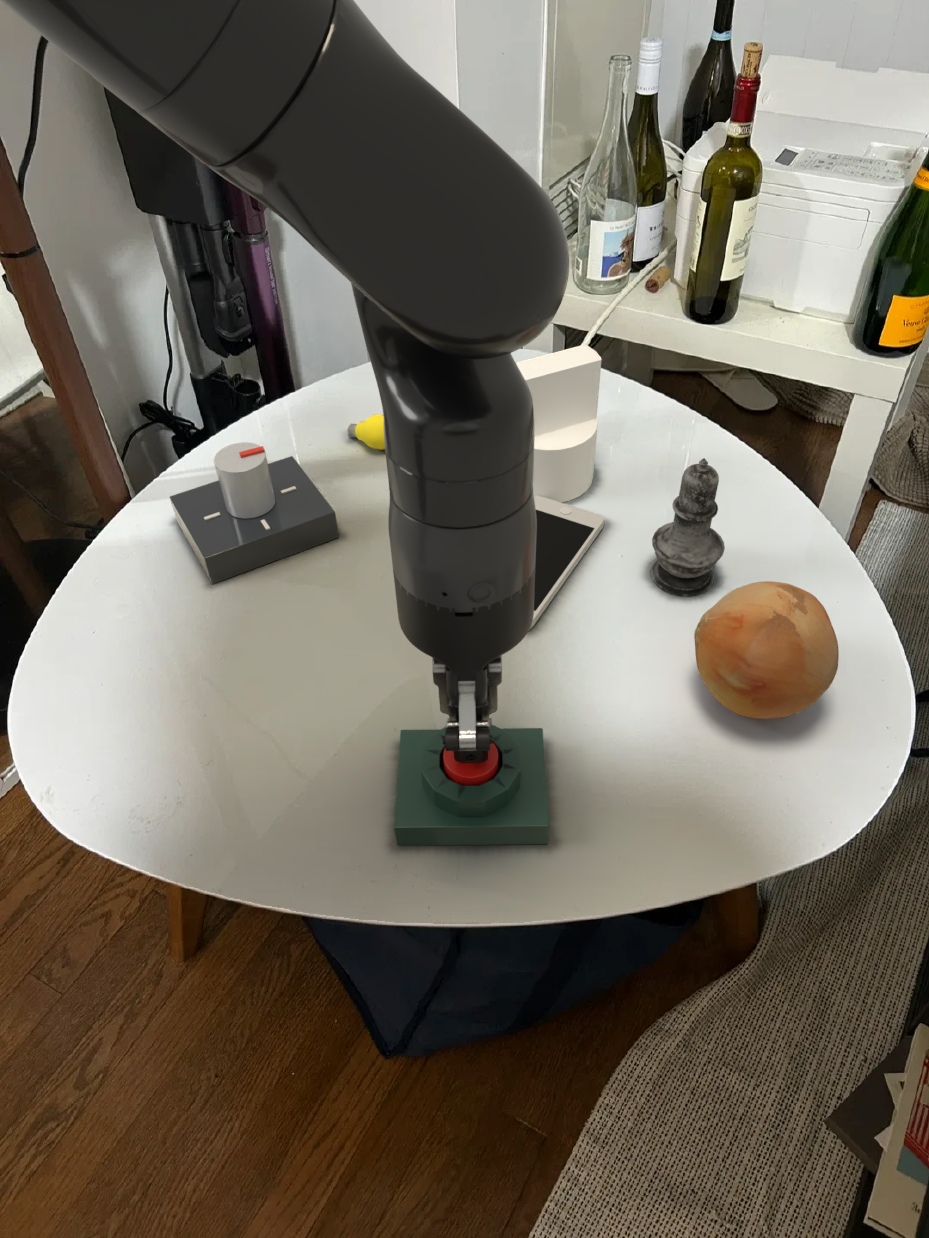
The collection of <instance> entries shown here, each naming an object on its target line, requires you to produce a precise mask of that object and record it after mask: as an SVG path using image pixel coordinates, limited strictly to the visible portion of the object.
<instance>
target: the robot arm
mask: <svg viewBox="0 0 929 1238" xmlns="http://www.w3.org/2000/svg"><path fill="white" fill-rule="evenodd" d="M0 1H1V2H2V3H3V4H4V5H6V7H8V8H9V9H10V10H11V11H12V12H13V13H15V14H16V15H18V17H19V18H20V19H22V20H23V21H24V22H25V23H26V24H27V25H28V26H30V27H31V28H32V29H34V31H36V32H37V33H38V34H39V35H40V36H42V37H43V38H44V39H45V40H47V41H48V42H49V43H50V44H51V45H52V46H54V47H55V48H56V49H57V50H58V51H60V52H61V53H62V54H63V55H65V56H66V57H67V58H68V59H69V60H70V61H72V62H73V63H74V64H76V65H77V66H78V67H79V68H80V69H82V70H83V71H84V72H85V73H87V74H88V75H89V76H90V77H92V78H93V79H94V80H95V81H97V82H98V83H99V84H100V85H102V87H104V88H105V89H107V90H108V91H109V92H110V93H112V94H113V95H114V96H115V97H117V98H118V99H119V100H120V101H122V102H123V103H124V104H126V105H127V106H128V107H130V108H131V109H132V110H134V111H135V112H136V113H137V114H139V115H140V116H141V117H143V118H144V119H145V120H147V121H148V122H149V123H150V124H152V125H153V126H154V127H156V129H158V130H159V131H161V132H162V133H163V134H164V135H166V136H167V137H168V138H169V139H171V140H172V141H173V142H175V143H176V144H177V145H179V146H180V147H181V148H183V149H184V150H185V151H187V152H188V153H189V154H190V155H192V156H193V157H194V158H195V159H197V160H198V161H199V162H201V163H202V164H203V165H206V166H207V167H208V168H209V169H211V171H213V172H215V173H216V174H217V175H219V176H220V177H222V178H223V179H224V180H226V181H227V182H229V183H230V184H232V185H233V186H234V187H236V188H238V189H240V190H241V191H243V192H244V193H245V194H247V195H248V196H251V197H252V198H253V199H254V200H256V201H257V202H259V203H261V204H262V205H263V206H265V207H266V208H267V209H269V210H270V211H271V212H273V213H274V214H275V215H277V216H278V217H279V218H280V219H282V220H283V221H284V222H285V223H286V224H288V225H289V226H290V227H291V228H292V229H293V230H295V231H296V232H297V233H298V234H299V236H301V237H302V238H303V239H304V240H305V241H306V242H307V243H308V244H309V245H310V246H311V247H312V248H313V249H314V250H315V251H316V252H318V253H319V254H320V256H322V257H323V258H324V259H325V260H326V261H327V262H328V263H330V265H332V266H333V267H334V269H336V270H337V271H338V272H339V273H340V274H341V275H342V276H344V277H345V279H347V281H349V282H350V285H351V288H352V290H351V291H352V293H353V298H354V303H355V306H356V307H355V308H356V311H357V314H358V319H359V322H360V323H359V324H360V326H361V330H362V334H363V339H364V342H365V346H366V350H367V354H368V356H369V360H370V363H371V364H370V365H371V367H372V370H373V371H372V372H373V374H374V378H375V381H376V385H377V389H378V394H379V398H380V403H381V407H382V415H383V416H384V444H385V449H384V452H385V462H386V471H387V480H388V491H389V504H388V537H389V545H390V554H391V555H390V557H391V564H392V574H393V583H394V591H395V599H396V600H395V601H396V608H397V610H396V611H397V617H398V618H397V619H398V623H399V626H400V630H401V631H402V634H403V635H404V637H405V638H406V639H407V640H408V642H409V643H410V644H411V645H412V646H413V647H414V648H416V649H417V650H419V651H420V652H421V653H423V654H425V655H426V656H429V657H430V658H432V662H431V663H432V664H431V665H432V669H431V670H432V680H433V685H435V686H436V687H437V689H438V690H437V691H438V699H439V700H438V702H439V711H440V712H441V713H442V714H444V715H446V716H447V715H448V718H447V720H446V722H445V727H446V730H445V735H443V745H445V747H446V751H454V759H455V760H456V761H457V762H460V763H482V762H485V761H487V759H488V751H490V744H493V735H492V734H490V726H492V725H493V721H492V720H493V719H492V717H490V716H491V714H494V713H496V712H497V711H498V708H499V706H498V705H499V703H498V700H499V699H498V689H499V687H498V686H499V685H501V684H502V682H503V655H505V654H507V653H508V652H510V651H511V650H513V649H514V648H516V646H518V645H519V644H520V643H521V642H522V641H523V640H524V638H525V637H526V636H527V634H528V632H529V631H530V630H531V629H530V627H531V624H532V621H533V615H534V591H535V564H536V536H537V518H536V508H535V501H534V494H533V473H534V440H535V439H534V438H535V420H534V407H533V400H532V396H531V392H530V390H529V387H528V385H527V383H526V381H525V379H524V377H523V375H522V373H521V372H520V370H519V368H518V366H517V364H516V361H515V359H514V357H513V354H512V353H514V352H516V351H518V350H520V349H523V348H524V347H525V346H527V345H529V344H530V343H531V342H533V341H535V339H537V338H538V337H539V336H540V335H541V334H542V333H544V331H545V330H546V329H547V327H548V326H549V325H550V324H551V323H552V322H553V319H554V318H555V316H556V314H557V313H558V311H559V308H560V306H561V304H562V302H563V299H564V297H565V294H566V290H567V287H568V282H569V274H570V247H569V242H568V241H569V240H568V236H567V232H566V228H565V226H564V223H563V221H562V218H561V216H560V214H559V211H558V209H557V207H556V205H554V202H553V201H552V199H551V198H550V196H549V195H548V193H547V192H546V190H544V189H543V187H542V186H541V185H540V184H539V183H538V182H537V180H535V179H534V178H533V177H532V176H531V174H529V173H528V172H527V170H526V169H524V168H523V167H522V166H521V165H520V164H519V163H518V162H517V160H515V159H514V158H513V157H512V156H511V155H510V154H509V153H508V152H506V151H505V149H503V148H502V147H501V145H499V144H498V143H497V142H496V141H495V140H494V139H492V138H491V137H490V136H489V134H487V133H486V132H485V131H484V130H483V129H482V128H481V127H480V126H479V125H478V124H477V123H475V122H474V121H473V120H472V119H471V118H470V117H469V116H467V115H466V114H465V113H464V112H463V111H462V110H460V108H458V107H457V106H456V105H455V104H454V103H453V102H452V101H451V100H450V99H449V98H447V97H446V96H445V95H444V94H443V93H441V91H440V90H439V89H437V87H435V86H434V85H433V84H431V83H430V82H429V81H428V80H427V79H426V78H424V77H423V76H422V75H421V74H419V72H417V71H416V70H415V69H414V68H413V67H412V66H410V65H411V64H409V63H408V62H407V61H406V60H404V59H403V57H401V55H399V53H398V52H397V51H396V50H395V49H394V48H393V46H392V45H391V44H390V43H389V42H388V41H387V39H386V38H385V37H384V36H383V35H382V34H381V32H380V31H379V30H378V29H377V28H376V26H375V25H374V23H372V21H371V20H370V19H369V17H367V15H366V14H365V12H364V11H363V9H361V8H360V6H359V5H358V4H357V3H356V1H355V0H0Z"/></svg>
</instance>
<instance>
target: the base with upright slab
mask: <svg viewBox="0 0 929 1238" xmlns="http://www.w3.org/2000/svg"><path fill="white" fill-rule="evenodd" d="M602 360H603V359H602V357H601V356H600V355H599V353H598V352H597V350H595V349H594V348H592V347H590V346H589V345H587V344H581V345H578V346H573V347H570V348H566V349H562V350H559V351H556V352H555V351H554V352H550V353H547V354H543V355H539V356H536V357H532V358H528V359H523V360H521V361H517V362H516V361H515V363H516V364H517V366H518V368H519V370H520V372H521V373H522V375H523V377H524V379H525V381H526V383H527V385H528V387H529V390H530V392H531V396H532V400H533V407H534V420H535V438H534V439H535V440H534V473H533V494H534V496H537V495H539V496H542V497H545V498H548V499H551V500H555V501H558V502H561V503H565V502H570V501H572V500H575V499H576V498H579V497H581V496H582V495H583V494H585V493H586V492H587V491H588V490H589V488H590V487H591V486H592V485H593V480H594V473H595V472H594V471H595V462H596V461H595V460H596V449H597V448H596V447H597V439H598V437H597V436H598V427H599V426H598V425H599V423H598V418H597V417H598V408H599V407H598V406H599V396H600V395H599V394H600V393H599V392H600V383H601V372H602V371H601V370H602Z"/></svg>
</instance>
